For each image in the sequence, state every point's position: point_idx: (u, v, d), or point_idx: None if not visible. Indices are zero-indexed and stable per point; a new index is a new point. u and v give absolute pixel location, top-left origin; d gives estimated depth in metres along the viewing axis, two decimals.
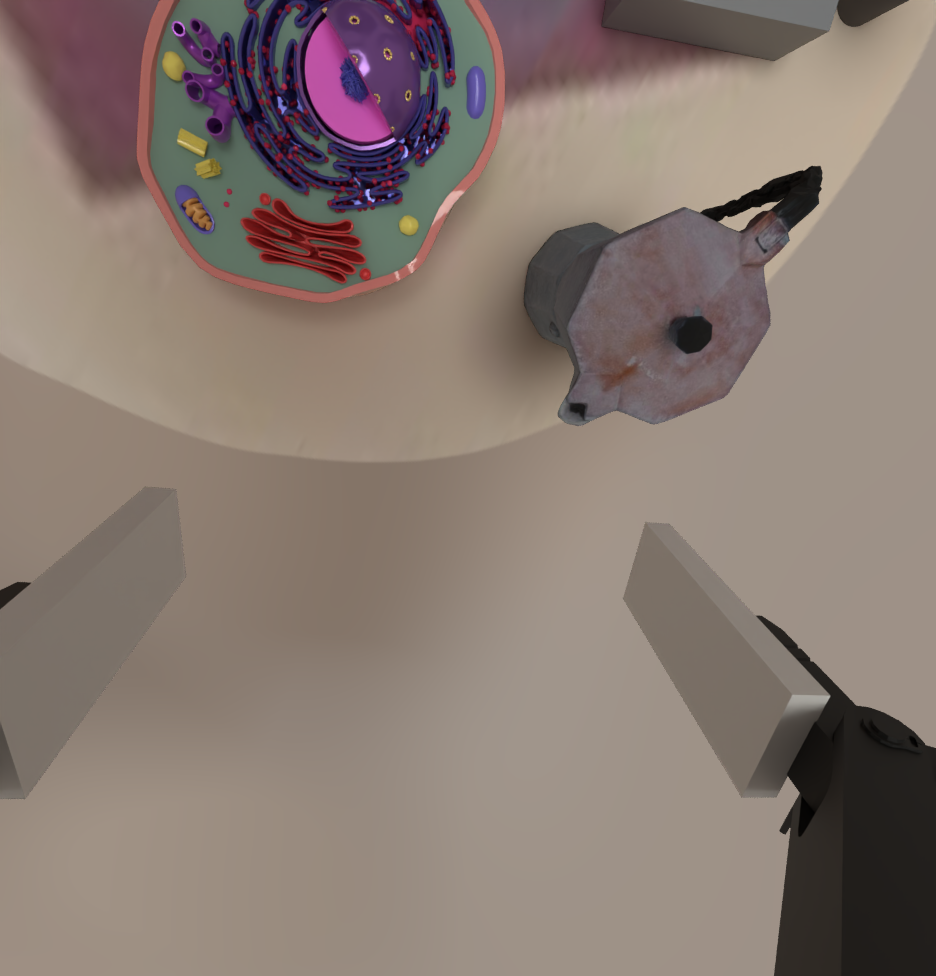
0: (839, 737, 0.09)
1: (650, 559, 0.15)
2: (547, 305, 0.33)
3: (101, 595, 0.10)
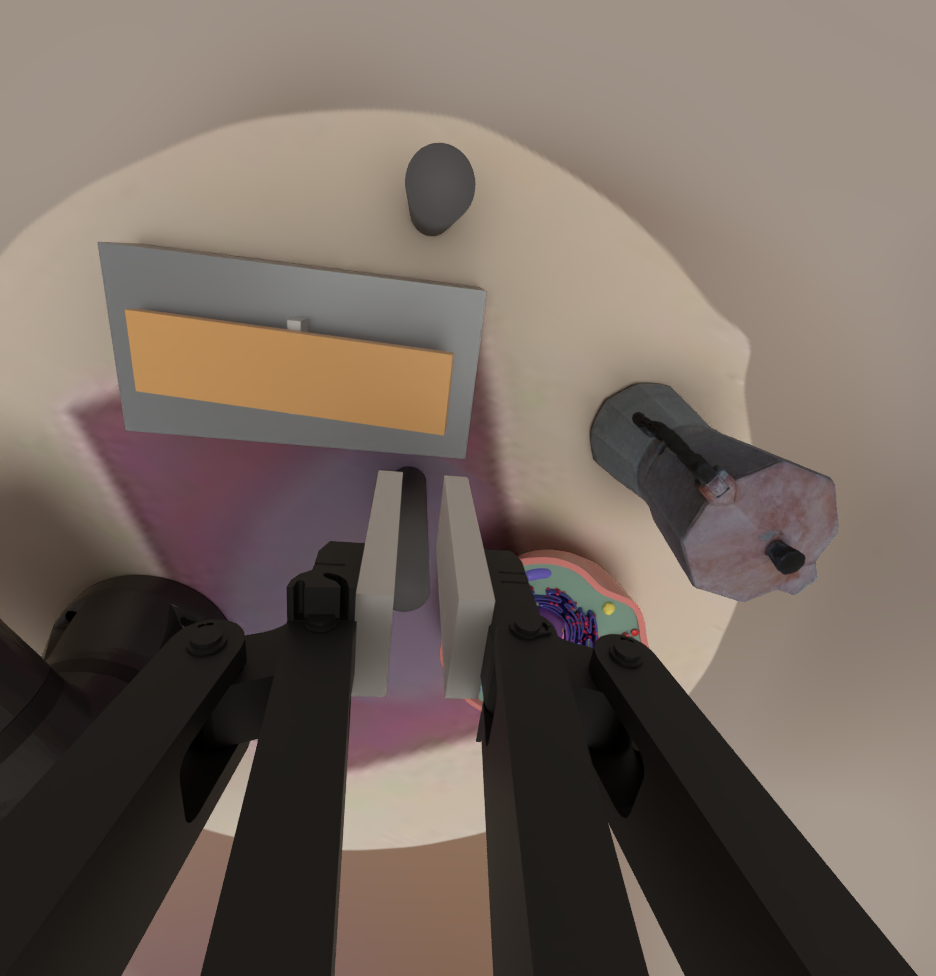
0: (496, 648, 0.10)
1: (443, 508, 0.16)
2: None
3: None
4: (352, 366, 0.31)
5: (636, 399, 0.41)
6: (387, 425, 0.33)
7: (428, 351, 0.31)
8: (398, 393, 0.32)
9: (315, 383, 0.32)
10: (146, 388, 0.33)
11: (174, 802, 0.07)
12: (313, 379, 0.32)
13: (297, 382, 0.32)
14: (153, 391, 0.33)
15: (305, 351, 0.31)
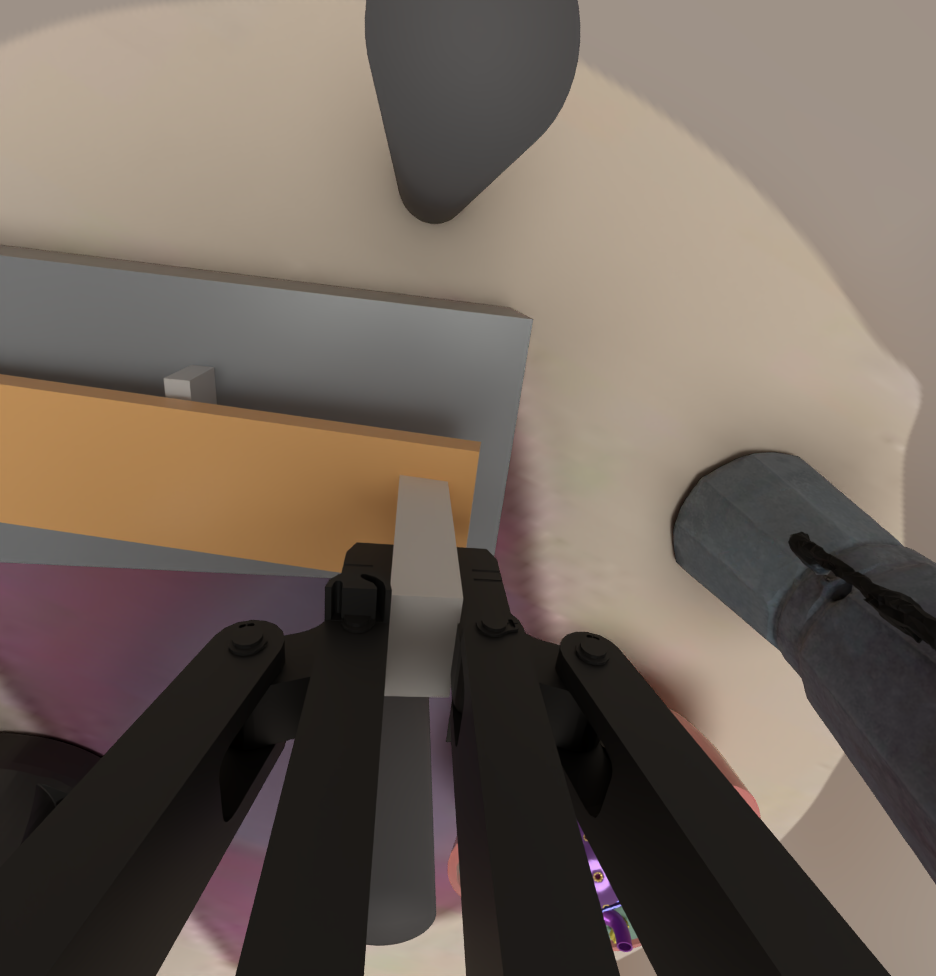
0: (463, 648, 0.10)
1: None
2: None
3: None
4: (284, 468, 0.16)
5: (756, 482, 0.26)
6: None
7: (431, 443, 0.16)
8: (373, 517, 0.17)
9: (216, 498, 0.17)
10: None
11: (213, 801, 0.07)
12: (212, 491, 0.17)
13: (183, 497, 0.17)
14: None
15: (193, 441, 0.16)
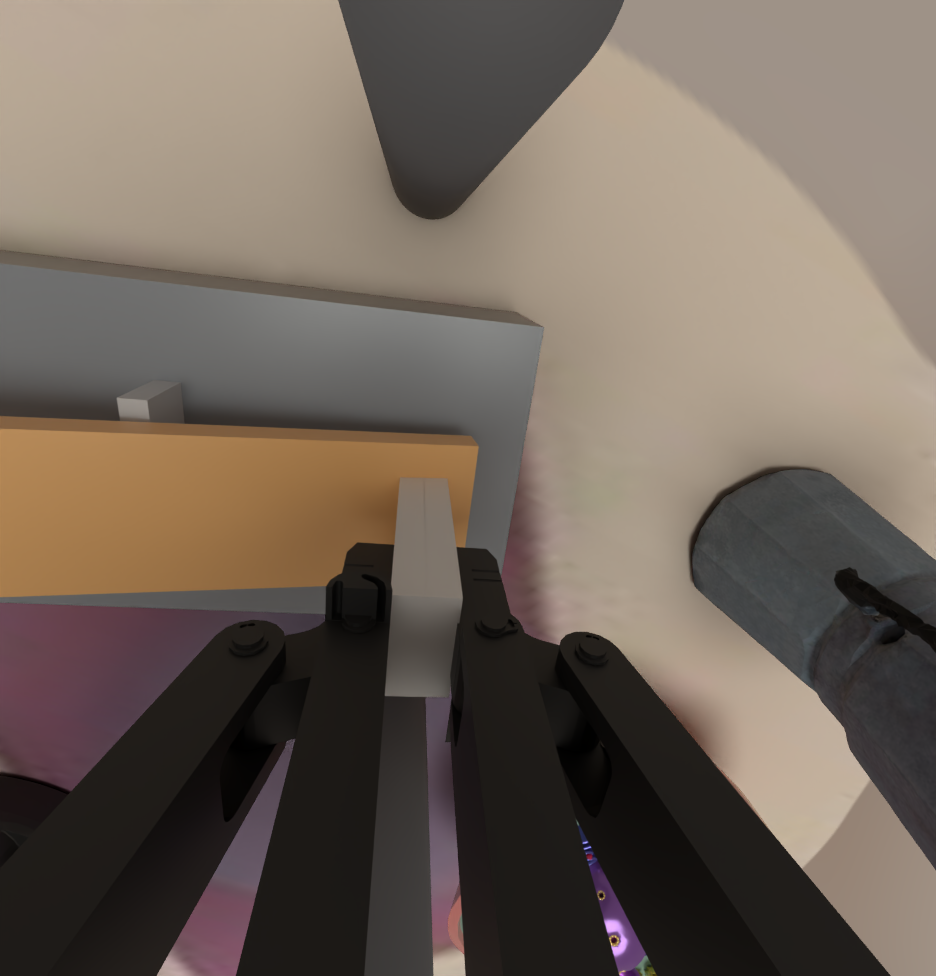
0: (462, 647, 0.10)
1: None
2: None
3: None
4: (274, 486, 0.15)
5: (786, 504, 0.24)
6: None
7: (431, 442, 0.16)
8: (373, 524, 0.16)
9: (192, 528, 0.15)
10: None
11: (214, 801, 0.07)
12: (187, 521, 0.15)
13: (148, 533, 0.15)
14: None
15: (161, 468, 0.14)
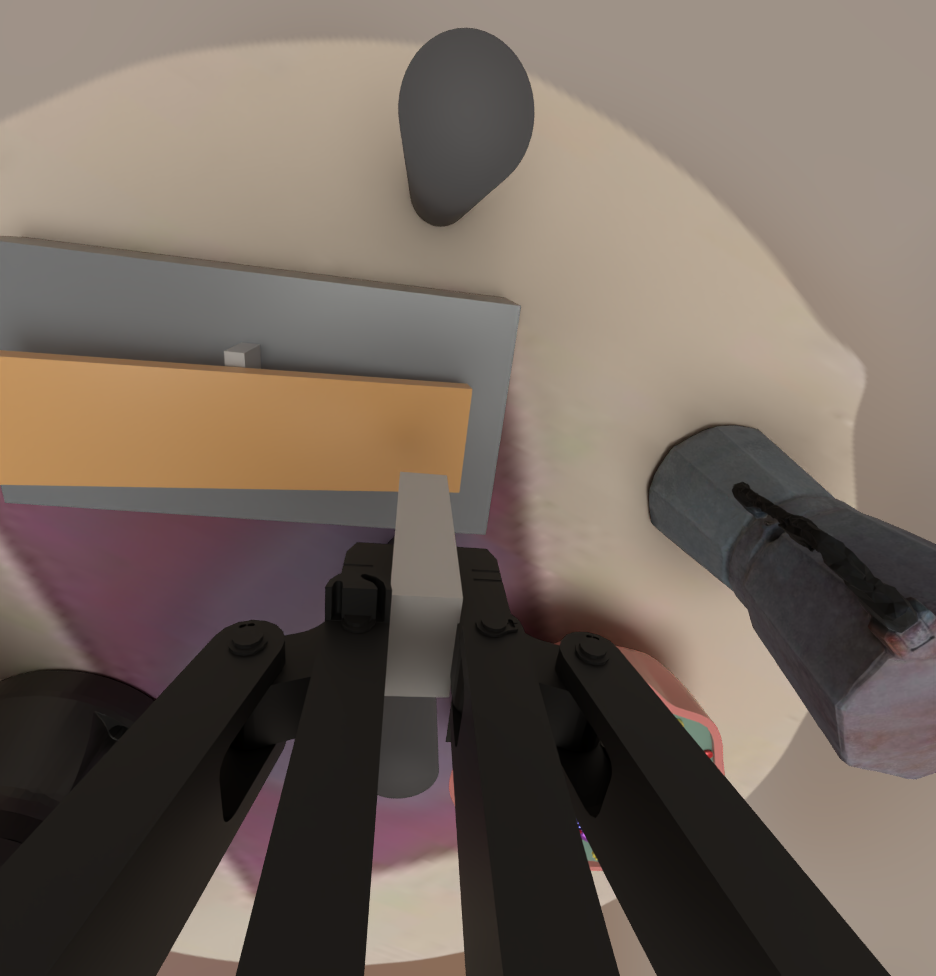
0: (463, 647, 0.10)
1: None
2: None
3: None
4: (330, 413, 0.22)
5: (717, 450, 0.30)
6: (382, 488, 0.24)
7: (438, 386, 0.22)
8: (397, 444, 0.23)
9: (273, 442, 0.22)
10: None
11: (213, 801, 0.07)
12: (270, 437, 0.22)
13: (244, 444, 0.21)
14: None
15: (256, 398, 0.21)
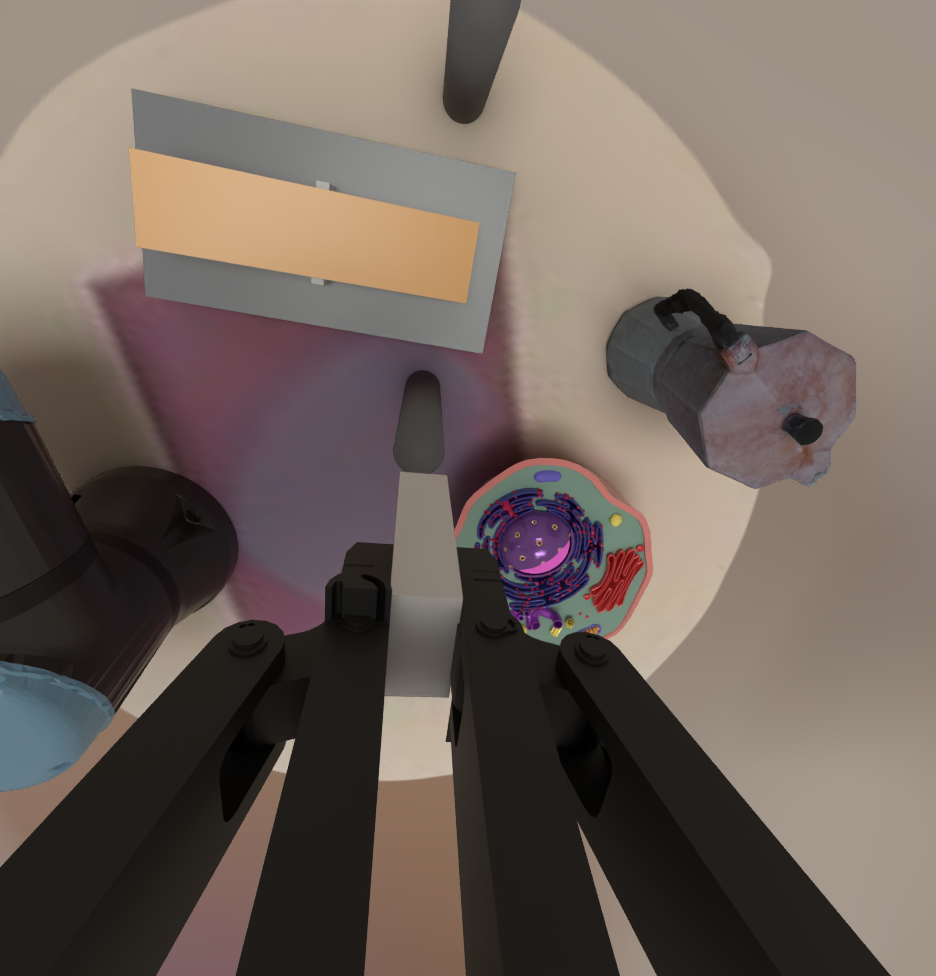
0: (463, 648, 0.10)
1: None
2: None
3: None
4: (383, 228, 0.32)
5: None
6: (414, 292, 0.34)
7: (456, 218, 0.33)
8: (426, 259, 0.34)
9: (344, 245, 0.32)
10: (150, 244, 0.30)
11: (213, 801, 0.07)
12: (343, 241, 0.32)
13: (325, 244, 0.32)
14: (158, 247, 0.30)
15: (337, 210, 0.31)
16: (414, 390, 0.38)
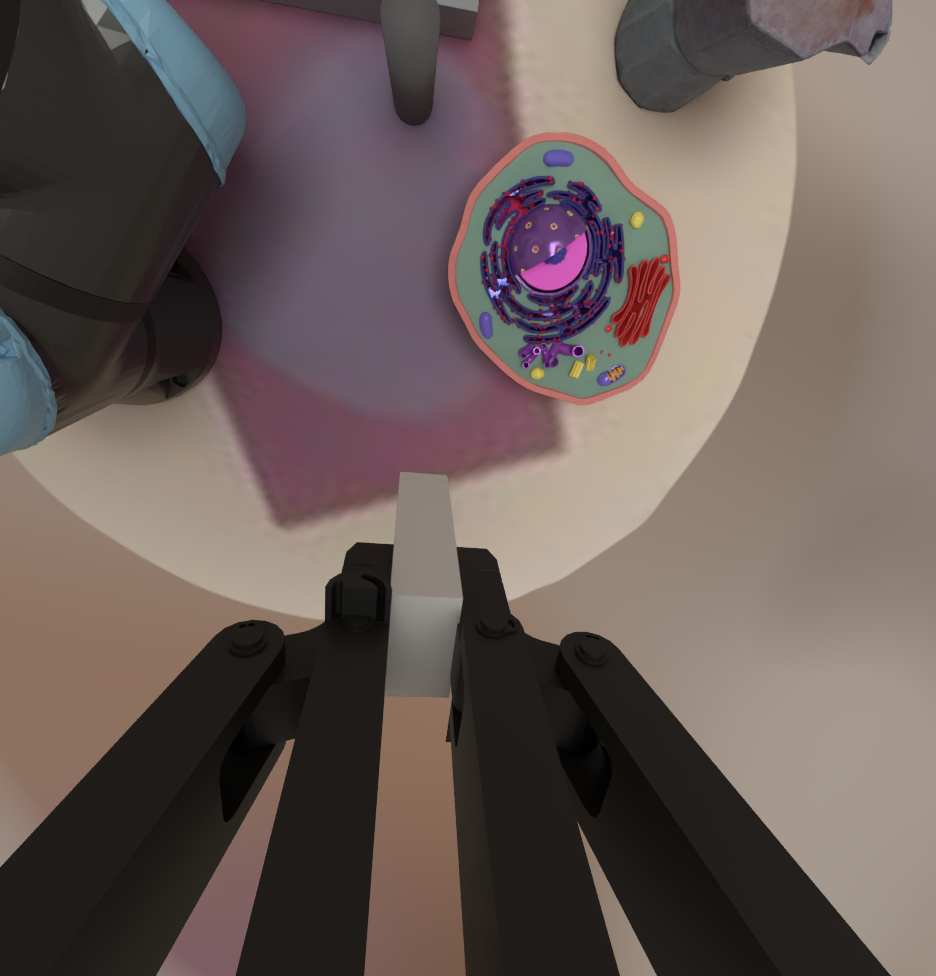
0: (463, 647, 0.10)
1: None
2: (705, 83, 0.37)
3: None
4: None
5: None
6: None
7: None
8: None
9: None
10: None
11: (213, 801, 0.07)
12: None
13: None
14: None
15: None
16: None
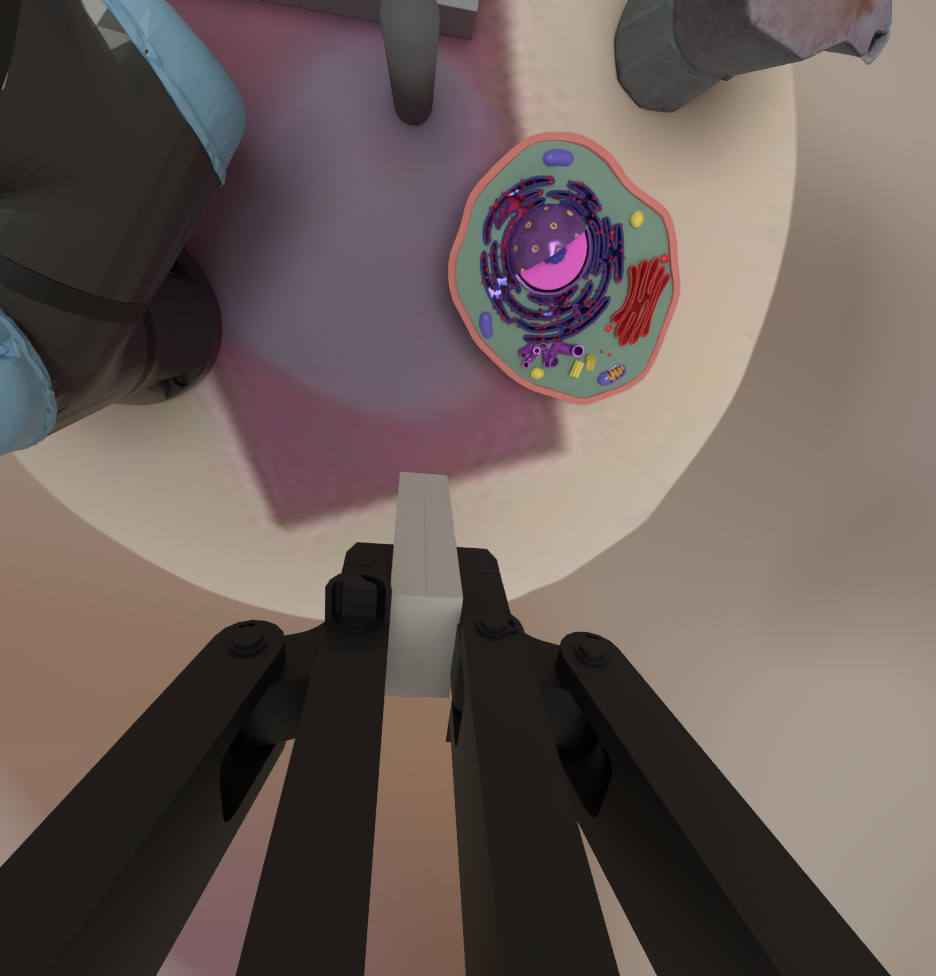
0: (463, 648, 0.10)
1: None
2: (705, 83, 0.37)
3: None
4: None
5: None
6: None
7: None
8: None
9: None
10: None
11: (213, 801, 0.07)
12: None
13: None
14: None
15: None
16: None
